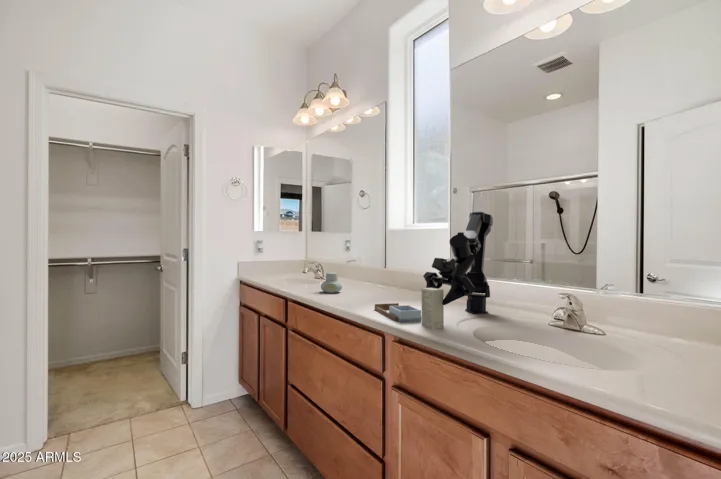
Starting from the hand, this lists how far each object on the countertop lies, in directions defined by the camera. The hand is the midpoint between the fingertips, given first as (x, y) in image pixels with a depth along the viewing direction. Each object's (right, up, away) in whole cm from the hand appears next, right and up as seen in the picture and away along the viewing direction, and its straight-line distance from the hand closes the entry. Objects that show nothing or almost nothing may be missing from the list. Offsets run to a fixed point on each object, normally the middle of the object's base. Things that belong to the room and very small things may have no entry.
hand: (433, 301), depth 112 cm
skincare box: (0, -8, 0) cm, 8 cm away
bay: (-10, -8, +17) cm, 21 cm away
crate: (-8, -8, +10) cm, 15 cm away
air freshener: (-38, -8, +69) cm, 79 cm away
